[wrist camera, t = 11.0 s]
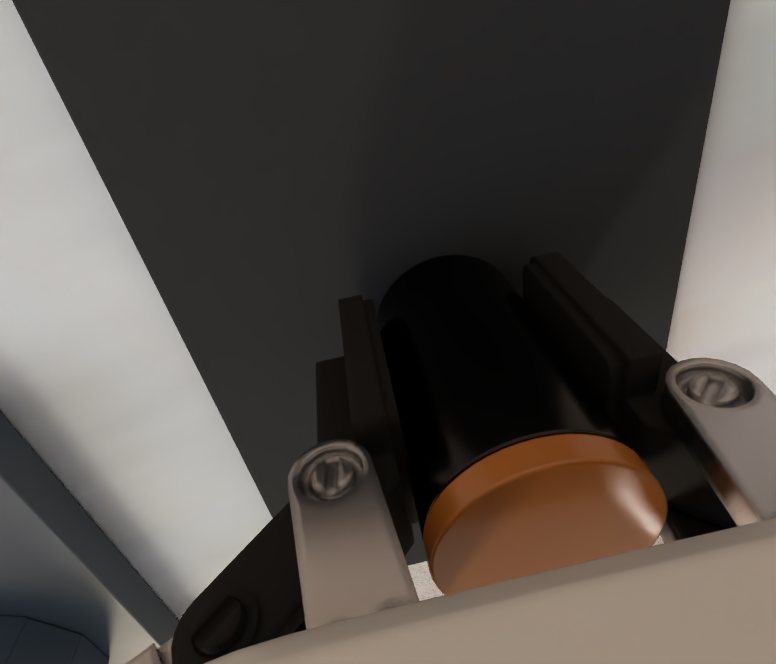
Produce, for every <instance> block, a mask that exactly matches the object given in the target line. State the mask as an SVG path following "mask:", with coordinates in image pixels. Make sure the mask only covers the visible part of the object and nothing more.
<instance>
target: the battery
mask: <svg viewBox="0 0 776 664" xmlns="http://www.w3.org/2000/svg"><path fill="white" fill-rule="evenodd" d="M377 321H378V326H379V330H380V335H381V339H382V344H383V348H384V352H385V357H386V361H387V366H388V370H389V374H390V379H391V383H392V388H393V392H394V397H395V401H396V405H397V410H398V414H399V419H400V423H401V428H402V432H403V437H404V441H405V446H406V450H407V455H408V474H409V480H410V485H411V489H412V494H413V498H414V503H415V507H416V512H417V516H418V521H419V526H420V530H421V535H422V539H423V542H424V548H425V553H426V557H427V562H428V566H429V571H430V574H431V577H432V579H433V581H434V582H435V584H436V585H437V587H438V588H439V590H441V591H442V592H443V593H444V594H445V595H448V594H452V593H457V592H461V591H465V590H469V589H473V588H477V587H482V586H486V585H490V584H494V583H498V582H503V581H507V580H511V579H515V578H519V577H524V576H528V575H532V574H536V573H540V572H545V571H549V570H553V569H557V568H562V567H566V566H570V565H574V564H579V563H583V562H587V561H592V560H596V559H600V558H604V557H609V556H613V555H617V554H621V553H626V552H630V551H634V550H639V549H643V548H647V547H652V545H653V544H654V543H655V541H656V540H657V538H658V537H659V535H660V533H661V531H662V529H663V527H664V524H665V521H666V518H667V511H668V507H667V498H666V494H665V491H664V488H663V487H662V485H661V484H660V482H659V480H658V479H657V478H656V476H655V475H654V474H653V472H652V471H651V470H650V468H649V467H648V466H647V464H646V463H645V462H644V460H643V459H642V458H641V457H640V456H639V454H638V453H637V451H636V450H635V448H634V447H633V446H632V444H631V443H630V442H629V440H628V439H627V438H626V437H625V435H624V434H623V433H622V431H621V430H620V429H619V427H618V426H617V425H616V423H615V422H614V421H613V419H612V418H611V417H610V415H609V414H608V413H607V411H606V410H605V409H604V407H603V406H602V405H601V403H600V402H599V401H598V399H597V398H596V397H595V395H594V394H593V393H592V391H591V390H590V389H589V387H588V386H587V385H586V383H585V382H584V381H583V379H582V378H581V377H580V375H579V374H578V373H577V371H576V370H575V369H574V367H573V366H572V365H571V363H570V362H569V361H568V359H567V358H566V357H565V355H564V354H563V353H562V351H561V350H560V349H559V348H558V346H557V345H556V344H555V342H554V341H553V340H552V338H551V337H550V336H549V334H548V333H547V332H546V330H545V329H544V328H543V326H542V325H541V324H540V322H539V321H538V320H537V318H536V317H535V316H534V314H533V313H532V312H531V310H530V309H529V308H528V306H527V305H526V304H525V302H524V301H523V300H522V298H521V297H520V296H519V294H518V293H517V292H516V290H515V289H514V288H513V286H512V285H511V284H510V282H509V281H508V280H507V278H506V277H505V276H504V275H503V274H502V273H501V272H500V270H498V269H497V268H496V267H495V266H493V265H492V264H490V263H488V262H486V261H484V260H482V259H479V258H476V257H472V256H467V255H445V256H438V257H435V258H431V259H428V260H426V261H423V262H421V263H419V264H417V265H415V266H413V267H412V268H410V269H409V270H407V271H406V272H404V273H403V274H402V275H401V276H400V277H399V278H398V279H397V280H396V281H395V282H394V283H393V284H392V285H391V286H390V288H389V289H388V291H387V292H386V294H385V295H384V297H383V299H382V302H381V304H380V307H379V310H378V315H377Z"/></svg>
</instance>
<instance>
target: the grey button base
mask: <svg viewBox="0 0 776 664" xmlns="http://www.w3.org/2000/svg"><path fill="white" fill-rule="evenodd" d="M178 624H179V621H178V620H177V619H176V618H175V617H174V615H173V614H172V613H171V612H170V611H169V609H168V608H167V607H166V606H165V605H164V604H163V602H162V601H161V600H160V599H159V598H158V597H157V595H156V594H155V593H154V592H153V591H152V589H151V588H150V587H149V586H148V585H147V584H146V582H145V581H144V580H143V579H142V578H141V576H140V575H139V574H138V573H137V572H136V571H135V569H134V568H133V567H132V566H131V565H130V564H129V562H128V561H127V560H126V559H125V558H124V556H123V555H122V554H121V553H120V552H119V551H118V549H117V548H116V547H115V546H114V545H113V544H112V542H111V541H110V540H109V539H108V538H107V536H106V535H105V534H104V533H103V532H102V531H101V529H100V528H99V527H98V526H97V525H96V524H95V522H94V521H93V520H92V519H91V518H90V516H89V515H88V514H87V513H86V512H85V511H84V509H83V508H82V507H81V506H80V505H79V503H78V502H77V501H76V500H75V499H74V498H73V496H72V495H71V494H70V493H69V492H68V491H67V489H66V488H65V487H64V486H63V485H62V483H61V482H60V481H59V480H58V479H57V478H56V476H55V475H54V474H53V473H52V472H51V471H50V469H49V468H48V467H47V466H46V465H45V463H44V462H43V461H42V460H41V459H40V458H39V456H38V455H37V454H36V453H35V452H34V451H33V449H32V448H31V447H30V446H29V445H28V443H27V442H26V441H25V440H24V439H23V438H22V436H21V435H20V434H19V433H18V432H17V431H16V429H15V428H14V427H13V426H12V425H11V423H10V422H9V421H8V420H7V419H6V418H5V416H4V415H3V414H2V413H1V412H0V664H126V663H127V662H129V661H130V660H131V659H133V658H134V657H135V656H137V655H138V654H139V653H141V652H142V651H143V650H145V649H146V648H147V647H149V646H150V645H151V644H153V643H154V644H155V645H156V646H157V647H158V648H159V647H160V646H162V645H163V644H164V643H166V642H167V641H168V640H170V639H171V638H172V637H173V636H174V632H175V630H176V628H177V626H178Z"/></svg>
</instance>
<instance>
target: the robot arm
mask: <svg viewBox="0 0 776 664" xmlns="http://www.w3.org/2000/svg"><path fill="white" fill-rule="evenodd" d="M522 276H523V301H524V302H525V304H526V305H527V306H528V308H529V309H530V310H531V312H532V313H533V314H534V316H535V317H536V318H537V320H538V321H539V322H540V324H541V325H542V326H543V328H544V329H545V330H546V332H547V333H548V334H549V336H550V337H551V338H552V340H553V341H554V342H555V344H556V345H557V346H558V348H559V349H560V350H561V351H562V353H563V354H564V355H565V357H566V358H567V359H568V361H569V362H570V363H571V365H572V366H573V367H574V369H575V370H576V371H577V373H578V374H579V375H580V377H581V378H582V379H583V381H584V382H585V383H586V385H587V386H588V387H589V389H590V390H591V391H592V393H593V394H594V395H595V397H596V398H597V399H598V401H599V402H600V403H601V405H602V406H603V407H604V409H605V410H606V411H607V413H608V414H609V415H610V417H611V418H612V419H613V421H614V422H615V423H616V425H617V426H618V427H619V429H620V430H621V431H622V433H623V434H624V435H625V437H626V438H627V439H628V440H629V442H630V443H631V444H632V446H633V447H634V448H635V450H636V451H637V453H638V454H639V456H640V457H641V458H642V459H643V460H644V462H645V463H646V464H647V466H648V467H649V468H650V470H651V471H652V472H653V474H654V475H655V476H656V478H657V479H658V480H659V482H660V484H661V485H662V487H663V488H664V491H665V494H666V498H667V507H668V511H667V518H666V521H665V524H664V527H663V529H662V531H661V533H660V536H661V538H662V540H663V542H664V544H660V545H656V546H652V547H647V548H643V549H639V550H634V551H630V552H626V553H621V554H617V555H613V556H609V557H604V558H600V559H596V560H592V561H587V562H583V563H579V564H574V565H570V566H566V567H562V568H557V569H553V570H549V571H545V572H540V573H536V574H532V575H528V576H524V577H519V578H515V579H511V580H507V581H503V582H498V583H494V584H490V585H486V586H482V587H477V588H473V589H469V590H465V591H461V592H457V593H452V594H448V595H444V596H440V597H436V598H431V599H427V600H423V601H419V599H418V596H417V593H416V590H415V587H414V584H413V581H412V578H411V575H410V572H409V569H408V566H407V563H406V560H405V556H406V554H407V553H408V551H409V550H410V549H411V547H412V546H413V544H414V543H415V542H414V541H415V537H414V532H413V527H412V524H415V523H419V521H418V516H417V512H416V507H415V503H414V498H413V494H412V489H411V485H410V480H409V474H408V455H407V450H406V446H405V441H404V437H403V432H402V428H401V423H400V419H399V414H398V410H397V405H396V401H395V397H394V392H393V388H392V383H391V379H390V374H389V370H388V366H387V361H386V357H385V352H384V348H383V344H382V339H381V335H380V330H379V326H378V321H377V317H376V313H375V308H374V304H373V299H367V300H363V297H362V294H361V295H356V296H352V297H347V298H343V299H338V303H339V313H340V322H341V331H342V341H343V350H344V356H342V357H337V358H333V359H328V360H324V361H320V362H317V363H316V405H317V445H315V446H313V447H311V448H310V449H308V450H307V451H306V452H304V453H303V454H302V455H301V456H300V457H299V458H298V459H297V460H296V462H295V463H294V464H293V466H292V468H291V470H290V473H289V475H288V493H289V500H290V501H289V502H288V503H287V505H286V506H285V507H284V508H283V509H282V510H281V511H280V512H279V513H278V514H277V515H276V516H275V517H274V518H273V519H272V520H271V521H270V522H269V523H268V524H267V525H266V526H265V527H264V528H263V529H262V531H261V532H260V533H259V534H258V535H257V536H256V537H255V538H254V539H253V540H252V541H251V542H250V543H249V544H248V545H247V546H246V547H245V548H244V549H243V550H242V551H241V552H240V553H239V554H238V555H237V557H236V558H235V559H234V560H233V561H232V562H231V563H230V564H229V565H228V566H227V567H226V568H225V569H224V570H223V571H222V572H221V573H220V574H219V575H218V576H217V577H216V578H215V579H214V580H213V582H212V583H211V584H210V585H209V586H208V587H207V588H206V589H205V590H204V591H203V592H202V593H201V594H200V595H199V596H198V597H197V598H196V599H195V600H194V601H193V603H192V604H191V605H190V606H189V608H188V609H187V610H186V612H185V613H184V614H183V615H182V617H181V619H180V621H179V624H178V626H177V628H176V630H175V632H174V636H173V637H172V638H171V639H170V640H168V641H167V642H166V643H164V644H163V645H162V646H160V647H159V648H158V647H157V646H156V645H155V644H154V643H153V644H151V645H150V646H149V647H147V648H146V649H145V650H143V651H142V652H141V653H139V654H138V655H137V656H135V657H134V658H133V659H131V660H130V661H129V662H127V663H126V664H776V396H775V395H774V394H773V393H772V391H771V390H770V389H769V388H768V387H767V386H766V385H765V384H764V383H763V382H762V381H761V380H760V379H759V378H757V377H756V376H755V375H754V374H752V373H751V372H750V371H748V370H746V369H744V368H742V367H740V366H738V365H736V364H733V363H730V362H726V361H723V360H718V359H711V358H691V359H687V360H683V361H680V362H677V361H676V360H675V359H674V358H673V357H672V356H671V355H670V354H669V353H667V352H666V351H665V350H664V349H663V348H662V347H661V346H660V345H659V344H658V343H657V342H656V341H655V340H654V339H653V338H652V337H651V336H649V335H648V334H647V333H646V332H645V331H644V330H643V329H642V328H641V327H640V326H639V325H638V324H637V323H636V322H635V321H634V320H633V319H631V318H630V317H629V316H628V315H627V314H626V313H625V312H624V311H623V310H622V309H621V308H620V307H619V306H618V305H617V304H616V303H614V302H613V301H612V300H610V299H609V298H606V297H605V296H604V295H603V294H602V293H601V292H600V291H599V290H598V289H597V288H596V287H595V286H594V285H593V284H592V283H591V282H589V281H588V280H587V279H586V278H585V277H584V276H583V275H582V274H581V273H580V272H579V271H578V270H577V269H576V268H575V267H574V266H573V265H572V264H571V263H570V262H569V261H567V260H566V259H565V258H564V257H563V256H562V255H561V254H560V253H559V252H557V251H555V252H551V253H546V254H542V255H537V256H532V257H531V258H530V262H529V264H525V265H524V266H523V271H522Z"/></svg>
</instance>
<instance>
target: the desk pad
mask: <svg viewBox="0 0 776 664" xmlns="http://www.w3.org/2000/svg"><path fill="white" fill-rule="evenodd" d="M12 1H13V3H14V5H15V7H16V9H17V11H18V13H19V15H20V17H21V19H22V21H23V23H24V25H25V27H26V29H27V31H28V33H29V35H30V37H31V39H32V41H33V43H34V45H35V47H36V49H37V51H38V53H39V55H40V57H41V59H42V61H43V63H44V65H45V67H46V69H47V71H48V73H49V75H50V77H51V79H52V81H53V83H54V85H55V87H56V89H57V90H58V92H59V94H60V96H61V98H62V100H63V102H64V104H65V106H66V108H67V110H68V112H69V114H70V116H71V118H72V120H73V122H74V124H75V126H76V128H77V130H78V132H79V134H80V136H81V138H82V140H83V142H84V144H85V146H86V148H87V150H88V152H89V154H90V156H91V158H92V160H93V162H94V164H95V166H96V168H97V170H98V172H99V174H100V176H101V178H102V180H103V182H104V184H105V186H106V188H107V190H108V192H109V194H110V196H111V198H112V200H113V202H114V204H115V206H116V208H117V210H118V212H119V214H120V216H121V218H122V220H123V222H124V224H125V226H126V228H127V229H128V231H129V233H130V235H131V237H132V239H133V241H134V243H135V245H136V247H137V249H138V251H139V253H140V255H141V257H142V259H143V261H144V263H145V265H146V267H147V269H148V271H149V273H150V275H151V277H152V279H153V281H154V283H155V285H156V287H157V289H158V291H159V293H160V295H161V297H162V299H163V301H164V303H165V305H166V307H167V309H168V311H169V313H170V315H171V317H172V319H173V321H174V323H175V325H176V327H177V329H178V331H179V333H180V335H181V337H182V339H183V341H184V343H185V345H186V347H187V349H188V351H189V353H190V355H191V357H192V359H193V361H194V363H195V365H196V367H197V369H198V370H199V372H200V374H201V376H202V378H203V380H204V382H205V384H206V386H207V388H208V390H209V392H210V394H211V396H212V398H213V400H214V402H215V404H216V406H217V408H218V410H219V412H220V414H221V416H222V418H223V420H224V422H225V424H226V426H227V428H228V430H229V432H230V434H231V436H232V438H233V440H234V442H235V444H236V446H237V448H238V450H239V452H240V454H241V456H242V458H243V460H244V462H245V464H246V466H247V468H248V470H249V472H250V474H251V476H252V478H253V480H254V482H255V484H256V486H257V488H258V490H259V492H260V494H261V496H262V498H263V500H264V502H265V504H266V506H267V508H268V509H269V511H270V513H271V515H272V517H273V518H274V517H275V516H276V515H277V514H278V513H279V512H280V511H281V510H282V509H283V508H284V507H285V506H286V505H287V503H288V502H289V501H290V500H289V493H288V475H289V473H290V470H291V468H292V466H293V464H294V463H295V462H296V460H297V459H298V458H299V457H300V456H301V455H302V454H303V453H304V452H306V451H307V450H308V449H310V448H311V447H313V446H315V445H317V405H316V363H317V362H320V361H324V360H328V359H333V358H337V357H342V356H344V350H343V341H342V331H341V322H340V313H339V303H338V299H343V298H347V297H352V296H356V295H361V294H362V297H363V300H367V299H373V304H374V308H375V313H376V317H377V315H378V310H379V307H380V304H381V302H382V299H383V297H384V295H385V294H386V292H387V291H388V289H389V288H390V286H391V285H392V284H393V283H394V282H395V281H396V280H397V279H398V278H399V277H400V276H401V275H402V274H403V273H404V272H406V271H407V270H409V269H410V268H412V267H413V266H415V265H417V264H419V263H421V262H423V261H426V260H428V259H431V258H435V257H438V256H445V255H467V256H472V257H476V258H479V259H482V260H484V261H486V262H488V263H490V264H492V265H493V266H495V267H496V268H497V269H498V270H500V272H501V273H502V274H503V275H504V276H505V277H506V278H507V280H508V281H509V282H510V284H511V285H512V286H513V288H514V289H515V290H516V292H517V293H518V294H519V296H520V297H521V298H522V300H523V276H522V271H523V266H524V265H525V264H529V262H530V258H531V257H532V256H537V255H542V254H546V253H551V252H555V251H557V252H559V253H560V254H561V255H562V256H563V257H564V258H565V259H566V260H567V261H569V262H570V263H571V264H572V265H573V266H574V267H575V268H576V269H577V270H578V271H579V272H580V273H581V274H582V275H583V276H584V277H585V278H586V279H587V280H588V281H589V282H591V283H592V284H593V285H594V286H595V287H596V288H597V289H598V290H599V291H600V292H601V293H602V294H603V295H604V296H605V297H606V298H609V299H610V300H612V301H613V302H614V303H616V304H617V305H618V306H619V307H620V308H621V309H622V310H623V311H624V312H625V313H626V314H627V315H628V316H629V317H630V318H631V319H633V320H634V321H635V322H636V323H637V324H638V325H639V326H640V327H641V328H642V329H643V330H644V331H645V332H646V333H647V334H648V335H649V336H651V337H652V338H653V339H654V340H655V341H656V342H657V343H658V344H659V345H660V346H661V347H662V348H663V349H664V350H665V351H666V346H667V341H668V336H669V330H670V325H671V319H672V314H673V309H674V303H675V298H676V292H677V287H678V281H679V276H680V271H681V265H682V260H683V254H684V249H685V243H686V238H687V233H688V227H689V222H690V216H691V211H692V206H693V200H694V195H695V189H696V184H697V178H698V173H699V168H700V162H701V157H702V151H703V146H704V141H705V135H706V130H707V124H708V119H709V113H710V108H711V103H712V97H713V92H714V86H715V81H716V76H717V70H718V65H719V59H720V54H721V48H722V43H723V38H724V32H725V27H726V21H727V16H728V10H729V5H730V0H12ZM412 527H413V532H414V537H415V541H414V542H415V543H414V544H413V546H412V547H411V549H410V550H409V551H408V553H407V554H406V556H405V560H406V563H407V565H412V564H416V563H420V562H424V561H427V557H426V553H425V548H424V542H423V539H422V535H421V530H420V526H419V523H415V524H412Z"/></svg>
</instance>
